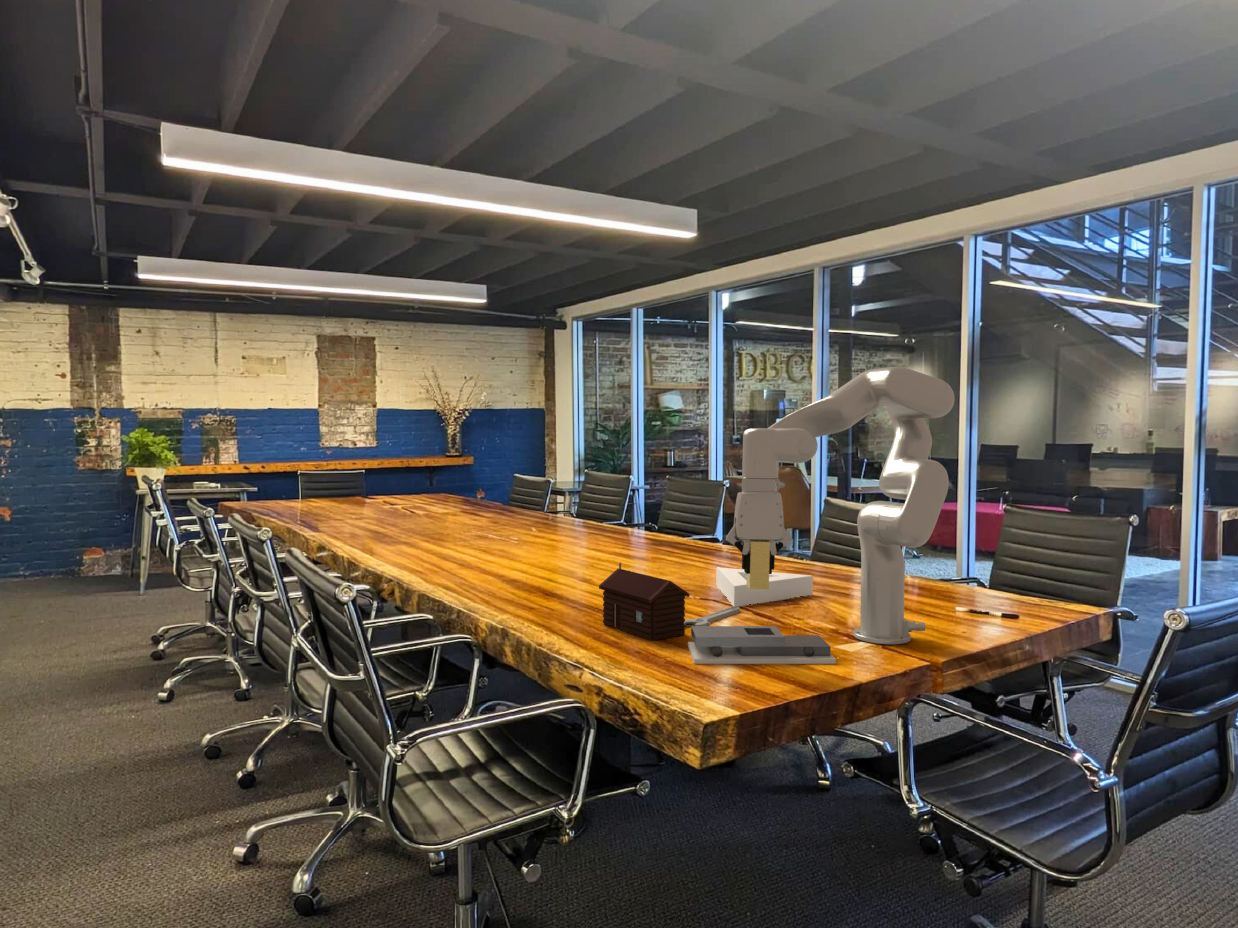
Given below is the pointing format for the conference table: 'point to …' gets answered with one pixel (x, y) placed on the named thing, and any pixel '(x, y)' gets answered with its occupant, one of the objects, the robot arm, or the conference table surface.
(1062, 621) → the conference table surface
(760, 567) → the pin
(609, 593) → the model building
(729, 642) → the gray toy truck
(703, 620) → the adjustable wrench
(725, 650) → the board
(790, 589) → the triangle block
